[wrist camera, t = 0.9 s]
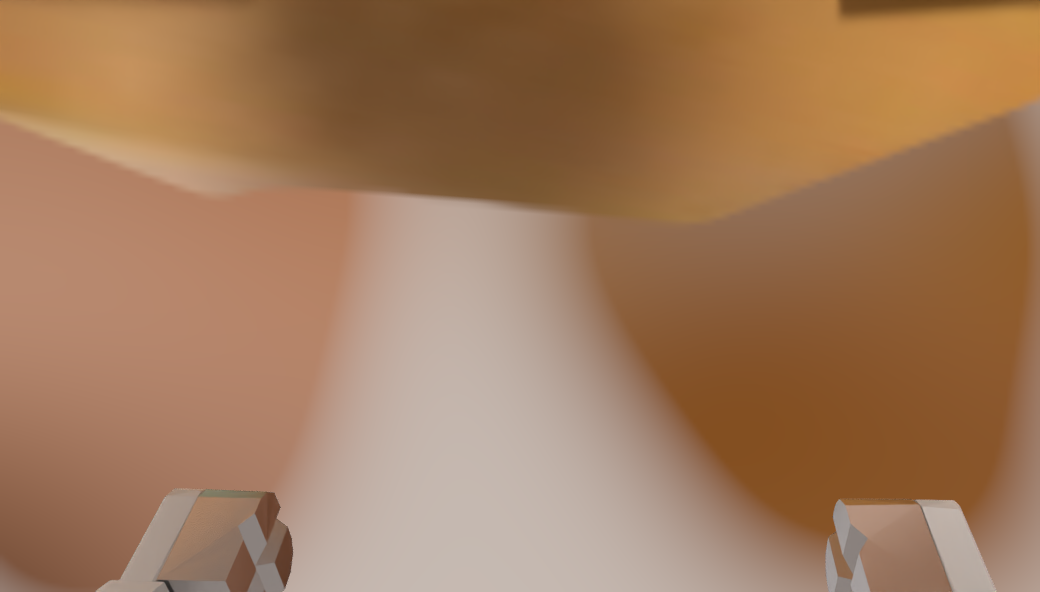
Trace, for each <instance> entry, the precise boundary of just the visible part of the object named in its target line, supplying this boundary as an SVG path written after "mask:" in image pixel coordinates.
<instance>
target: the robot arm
mask: <svg viewBox="0 0 1040 592" xmlns="http://www.w3.org/2000/svg"><path fill="white" fill-rule="evenodd" d="M280 508H281V507H280V505H279V503H278V500H277V498H276V496H275V493H273V492H258V491H257V492H255V491H234V490H209V489H174V490H173V491H171V492H170V493H169V494H168V495H167V496H166V497H165V498H164V500H163V502H162V504H161V505H160V507H159V509H158V511H157V513H156V515H155V517H154V518H153V520H152V522H151V524H150V526H149V527H148V530H147V531H146V533H145V535H144V537H143V539H142V540H141V542H140V544H139V546H138V548H137V549H136V551H135V553H134V555H133V557H132V558H131V560H130V562H129V564H128V566H127V568H126V570H125V572H124V573H123V575H122V577H121V579H120V580H110V581H109V582H107V583H106V584H105V585H103V586H102V587H101V588H99V589H98V590H97V591H95V592H282V591H283V590H284V589H285V587H286V584H287V581H288V578H289V575H290V572H291V565H292V557H293V547H292V538H291V535H290V532H289V529H288V527H287V526H286V525H285V524H283V523H282V522H281V521H279V520H278V519H277V515H278V513H279V510H280ZM833 519H834V523H835V527H836V532H835V533H833V534H832V535H831V536H829V537H828V542H827V548H826V578H827V585H828V591H829V592H997V591H996V589H995V586H994V584H993V582H992V579H991V577H990V575H989V572H988V570H987V568H986V565H985V563H984V561H983V558H982V556H981V554H980V552H979V549H978V547H977V545H976V542H975V540H974V538H973V536H972V533H971V531H970V529H969V526H968V524H967V522H966V519H965V517H964V515H963V512H962V510H961V508H960V506H959V505H958V504H957V503H956V502H955V501H954V500H912V499H839V500H838V502H837V503H836V505H835V509H834V514H833Z"/></svg>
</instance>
